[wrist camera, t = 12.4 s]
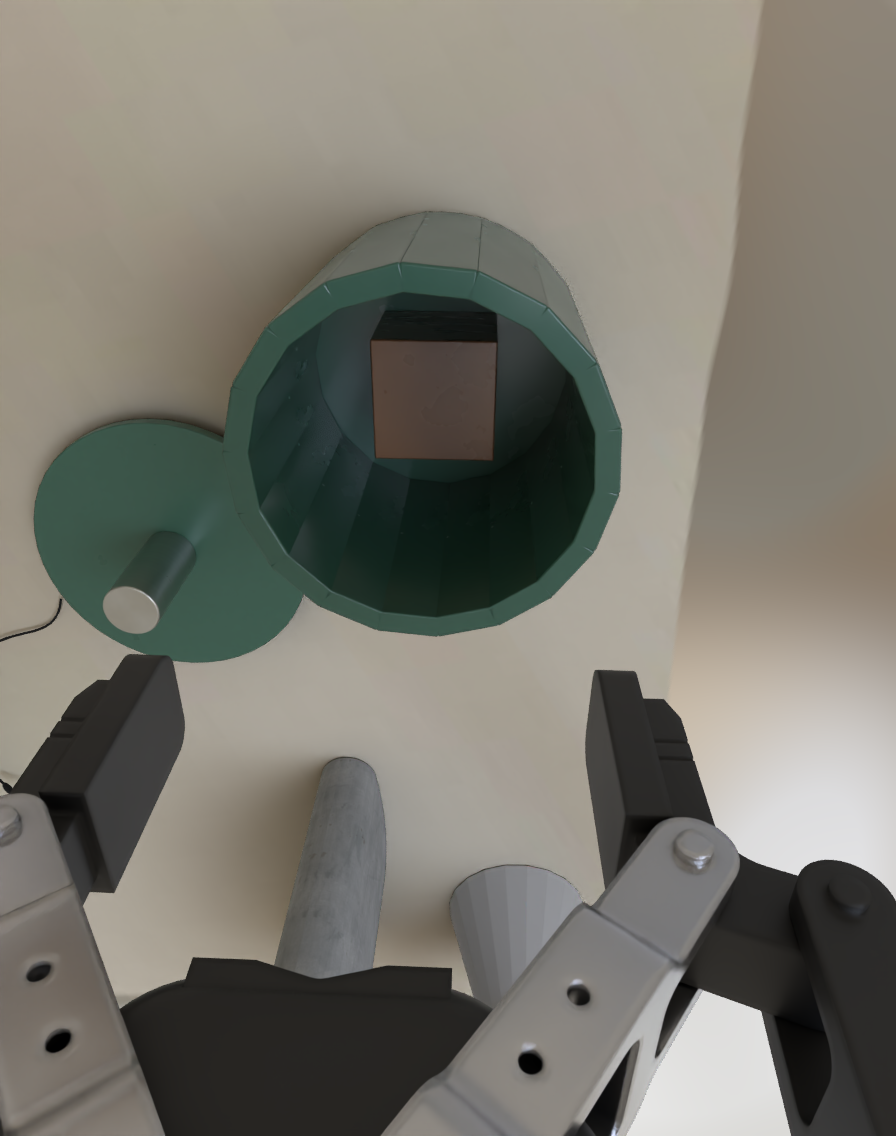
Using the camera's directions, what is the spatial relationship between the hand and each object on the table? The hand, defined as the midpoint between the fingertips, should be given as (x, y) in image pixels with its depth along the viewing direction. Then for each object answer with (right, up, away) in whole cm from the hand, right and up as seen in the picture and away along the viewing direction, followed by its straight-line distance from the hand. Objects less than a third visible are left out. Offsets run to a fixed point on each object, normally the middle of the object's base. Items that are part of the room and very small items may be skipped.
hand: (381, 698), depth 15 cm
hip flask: (-4, -15, +35) cm, 38 cm away
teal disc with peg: (-12, +3, +24) cm, 27 cm away
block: (+1, +11, +19) cm, 22 cm away
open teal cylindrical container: (+1, +11, +19) cm, 22 cm away
